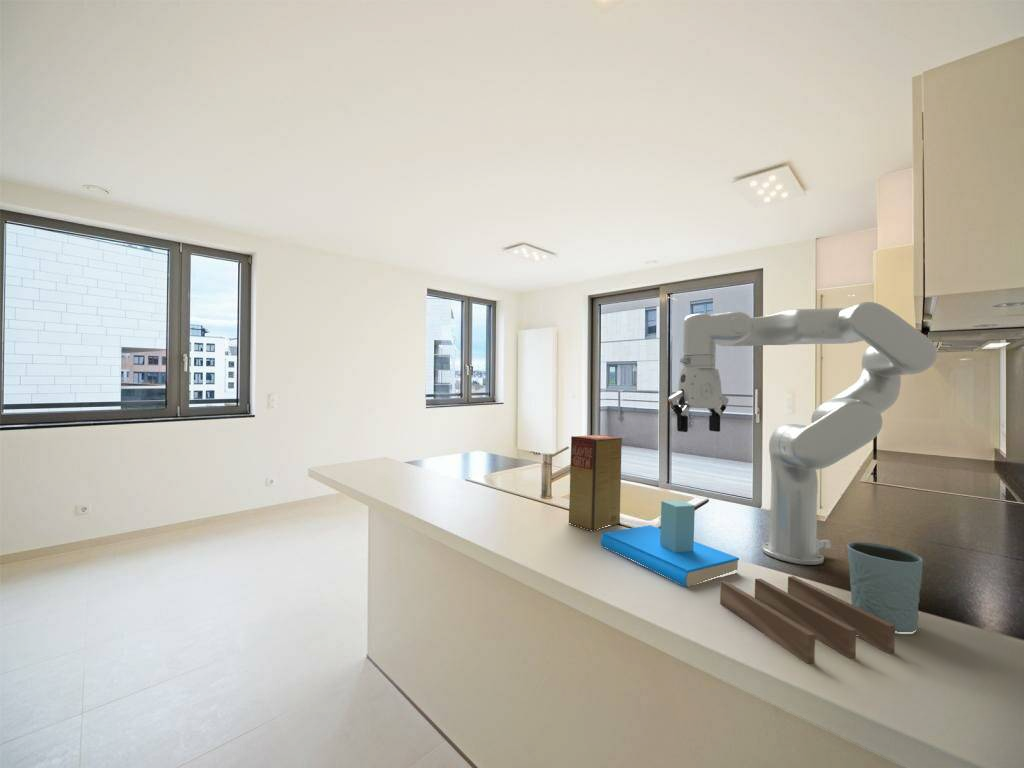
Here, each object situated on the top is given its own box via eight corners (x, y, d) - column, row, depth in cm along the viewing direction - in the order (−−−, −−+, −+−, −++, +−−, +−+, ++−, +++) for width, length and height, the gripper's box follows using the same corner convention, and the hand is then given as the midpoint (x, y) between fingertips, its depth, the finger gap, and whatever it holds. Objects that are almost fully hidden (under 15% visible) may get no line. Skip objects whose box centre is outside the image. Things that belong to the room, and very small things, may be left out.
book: (649, 524, 117) (739, 555, 95) (649, 541, 117) (739, 576, 95) (600, 532, 108) (686, 569, 87) (599, 550, 108) (686, 591, 87)
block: (677, 543, 103) (679, 500, 103) (693, 550, 98) (694, 505, 99) (660, 544, 101) (661, 501, 102) (674, 552, 97) (676, 506, 97)
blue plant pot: (900, 642, 70) (902, 565, 70) (832, 611, 79) (833, 544, 79) (934, 630, 74) (936, 558, 74) (866, 603, 83) (867, 538, 83)
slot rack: (792, 597, 84) (793, 576, 84) (894, 652, 67) (895, 625, 67) (720, 603, 81) (720, 581, 81) (807, 663, 63) (808, 635, 63)
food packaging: (595, 516, 136) (598, 434, 136) (621, 523, 129) (624, 437, 129) (566, 523, 127) (569, 435, 127) (593, 532, 120) (596, 439, 120)
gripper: (679, 361, 106) (679, 433, 106) (738, 363, 111) (738, 432, 111) (660, 363, 113) (660, 430, 113) (716, 365, 118) (716, 429, 118)
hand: (698, 431), depth 112 cm, fingers open, 9 cm apart
